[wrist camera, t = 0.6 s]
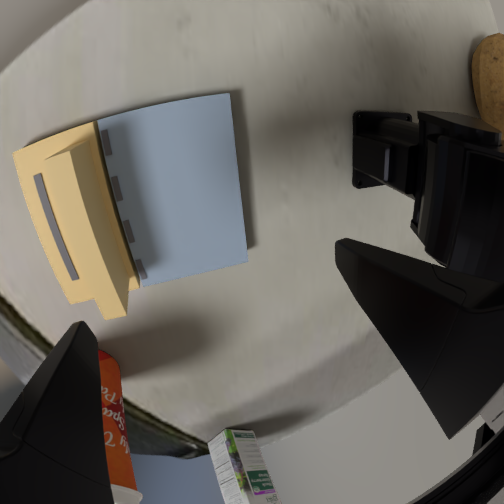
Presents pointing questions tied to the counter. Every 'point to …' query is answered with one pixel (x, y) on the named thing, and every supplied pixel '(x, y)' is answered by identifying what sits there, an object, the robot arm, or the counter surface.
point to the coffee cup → (116, 434)
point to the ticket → (177, 186)
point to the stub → (78, 218)
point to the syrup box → (241, 469)
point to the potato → (490, 80)
